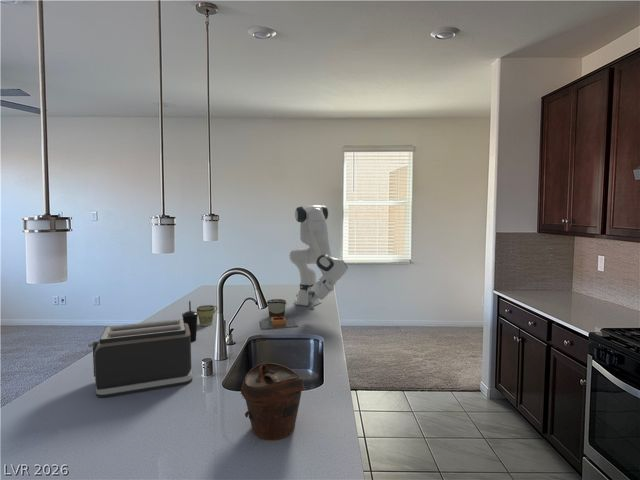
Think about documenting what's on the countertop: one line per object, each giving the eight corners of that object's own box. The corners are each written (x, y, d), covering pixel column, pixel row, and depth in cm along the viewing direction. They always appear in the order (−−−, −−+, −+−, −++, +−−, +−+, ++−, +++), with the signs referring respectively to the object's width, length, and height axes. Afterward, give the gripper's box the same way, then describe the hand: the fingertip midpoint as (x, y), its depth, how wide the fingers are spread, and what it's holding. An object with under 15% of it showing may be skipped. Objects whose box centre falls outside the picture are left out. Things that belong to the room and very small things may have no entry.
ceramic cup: (204, 327, 214) (203, 310, 213) (193, 324, 220) (192, 307, 219) (222, 322, 224) (222, 305, 224) (212, 319, 231) (211, 303, 230)
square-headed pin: (306, 308, 225) (306, 290, 224) (313, 308, 226) (313, 289, 225) (308, 310, 222) (308, 291, 221) (315, 310, 223) (315, 291, 222)
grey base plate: (259, 322, 224) (259, 316, 224) (293, 320, 229) (293, 314, 229) (261, 329, 211) (261, 323, 210) (297, 326, 215) (297, 320, 215)
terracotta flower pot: (259, 406, 127) (258, 353, 125) (315, 419, 119) (315, 362, 117) (226, 436, 110) (225, 375, 109) (289, 453, 102) (288, 388, 101)
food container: (288, 314, 241) (288, 299, 240) (286, 317, 235) (286, 301, 234) (269, 314, 242) (268, 298, 242) (266, 316, 236) (266, 300, 235)
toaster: (94, 379, 148) (92, 327, 147) (189, 365, 162) (188, 317, 160) (85, 401, 131) (83, 342, 129) (193, 384, 144) (191, 330, 142)
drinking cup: (179, 340, 192) (178, 301, 191) (194, 337, 198) (192, 298, 197) (187, 344, 187) (186, 303, 186) (201, 340, 193) (200, 301, 191)
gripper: (318, 276, 234) (302, 292, 233) (326, 282, 214) (309, 301, 213) (325, 283, 236) (309, 299, 234) (334, 290, 216) (317, 308, 214)
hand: (309, 300), depth 223 cm, fingers closed on square-headed pin, 4 cm apart
